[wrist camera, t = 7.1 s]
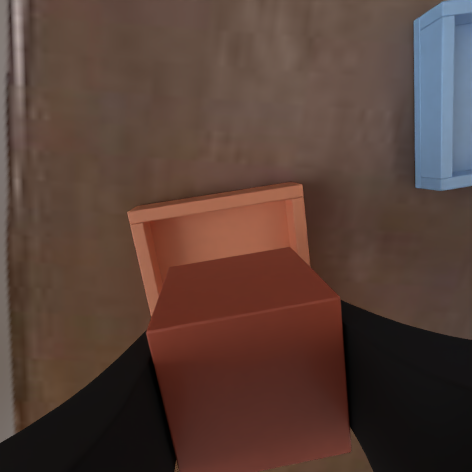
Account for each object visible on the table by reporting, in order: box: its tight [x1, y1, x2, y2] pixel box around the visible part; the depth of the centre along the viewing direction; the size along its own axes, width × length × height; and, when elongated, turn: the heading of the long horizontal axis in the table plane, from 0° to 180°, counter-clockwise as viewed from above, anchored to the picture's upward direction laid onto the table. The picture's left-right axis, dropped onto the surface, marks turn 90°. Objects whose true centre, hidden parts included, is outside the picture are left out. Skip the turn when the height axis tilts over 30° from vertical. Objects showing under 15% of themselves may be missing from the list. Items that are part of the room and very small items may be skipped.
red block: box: [146, 247, 351, 472], centre depth 10 cm, size 4×4×4 cm
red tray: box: [127, 182, 310, 317], centre depth 17 cm, size 8×8×2 cm
